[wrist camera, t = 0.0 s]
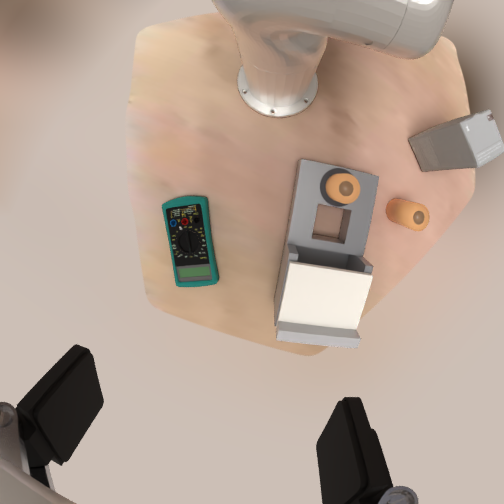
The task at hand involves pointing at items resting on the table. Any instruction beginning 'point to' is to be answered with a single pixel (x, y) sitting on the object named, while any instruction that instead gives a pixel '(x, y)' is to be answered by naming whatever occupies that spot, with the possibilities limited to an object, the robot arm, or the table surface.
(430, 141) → the skincare box
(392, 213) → the peg
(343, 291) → the lid
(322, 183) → the housing
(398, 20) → the robot arm
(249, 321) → the table surface
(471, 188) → the table surface
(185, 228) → the digital multimeter
